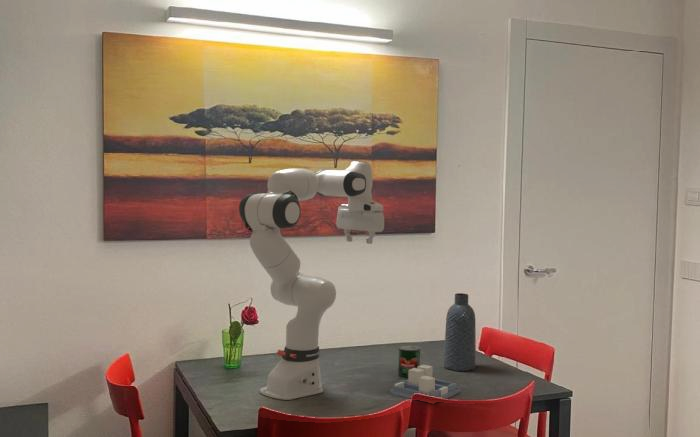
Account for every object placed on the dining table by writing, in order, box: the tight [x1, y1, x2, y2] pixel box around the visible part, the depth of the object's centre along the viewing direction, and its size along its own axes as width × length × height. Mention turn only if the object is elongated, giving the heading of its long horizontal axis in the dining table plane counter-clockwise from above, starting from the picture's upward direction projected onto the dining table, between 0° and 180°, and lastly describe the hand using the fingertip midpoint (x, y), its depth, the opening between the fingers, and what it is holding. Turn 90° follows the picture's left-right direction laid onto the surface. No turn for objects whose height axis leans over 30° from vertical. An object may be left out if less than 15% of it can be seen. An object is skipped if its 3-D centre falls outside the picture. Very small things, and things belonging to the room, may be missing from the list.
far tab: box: [417, 364, 434, 377], centre depth 271 cm, size 4×4×6 cm
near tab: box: [419, 376, 436, 394], centre depth 257 cm, size 4×4×6 cm
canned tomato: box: [397, 344, 421, 381], centre depth 283 cm, size 8×8×11 cm
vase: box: [443, 292, 477, 372], centre depth 297 cm, size 12×12×28 cm
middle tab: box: [408, 368, 424, 386], centre depth 267 cm, size 4×4×6 cm
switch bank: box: [390, 378, 461, 399], centre depth 264 cm, size 17×17×3 cm
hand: (359, 242), depth 288 cm, fingers open, 8 cm apart
